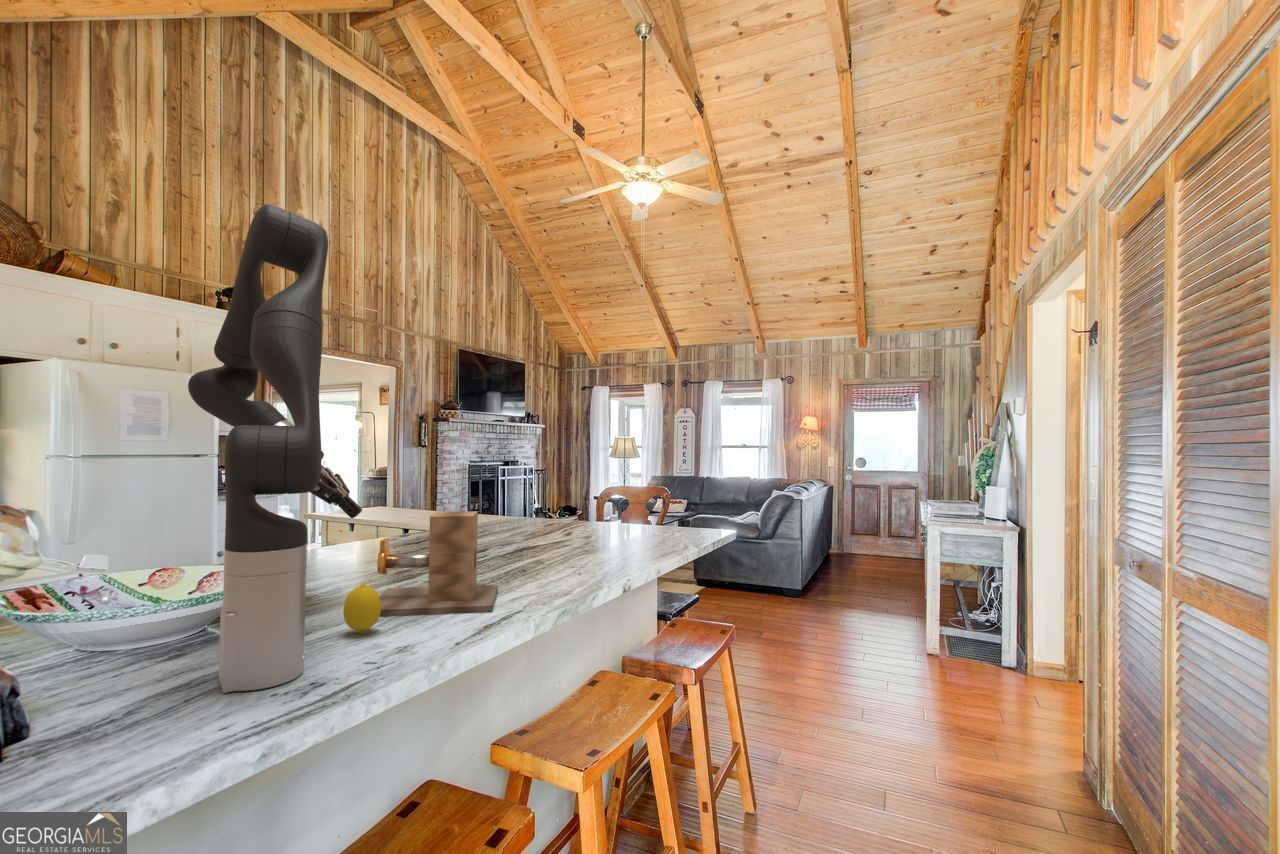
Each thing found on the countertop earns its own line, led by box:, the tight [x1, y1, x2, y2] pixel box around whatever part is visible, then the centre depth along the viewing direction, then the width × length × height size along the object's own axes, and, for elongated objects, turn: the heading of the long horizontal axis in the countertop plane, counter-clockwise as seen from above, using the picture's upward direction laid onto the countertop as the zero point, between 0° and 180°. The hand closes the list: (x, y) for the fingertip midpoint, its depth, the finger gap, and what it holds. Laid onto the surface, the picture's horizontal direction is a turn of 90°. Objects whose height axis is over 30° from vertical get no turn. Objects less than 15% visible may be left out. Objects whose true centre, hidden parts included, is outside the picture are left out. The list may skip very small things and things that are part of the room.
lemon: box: [343, 583, 381, 634], centre depth 95 cm, size 6×6×8 cm
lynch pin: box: [376, 537, 429, 576], centre depth 113 cm, size 12×5×7 cm, turn 100°
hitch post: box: [379, 510, 499, 618], centre depth 114 cm, size 22×16×17 cm
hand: (357, 514), depth 111 cm, fingers closed
